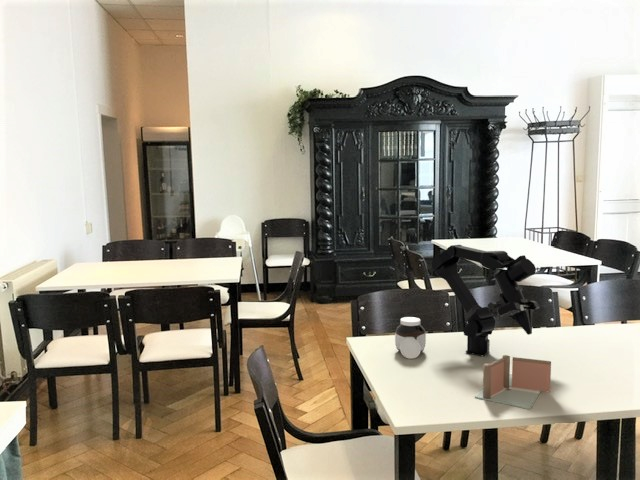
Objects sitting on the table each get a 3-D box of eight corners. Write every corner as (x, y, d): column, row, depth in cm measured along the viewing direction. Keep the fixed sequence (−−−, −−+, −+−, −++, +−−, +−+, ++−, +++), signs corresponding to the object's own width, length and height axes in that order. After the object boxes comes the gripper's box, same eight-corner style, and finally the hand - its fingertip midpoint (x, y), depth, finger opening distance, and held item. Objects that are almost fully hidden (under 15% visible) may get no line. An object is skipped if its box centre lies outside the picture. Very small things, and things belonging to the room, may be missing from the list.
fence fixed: (482, 398, 145) (482, 365, 144) (494, 383, 156) (495, 352, 155) (502, 403, 142) (503, 369, 141) (514, 387, 153) (515, 355, 152)
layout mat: (475, 397, 146) (475, 396, 146) (497, 372, 165) (497, 371, 165) (530, 409, 138) (530, 408, 138) (546, 381, 157) (547, 380, 157)
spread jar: (415, 346, 191) (415, 315, 190) (435, 356, 181) (435, 322, 180) (387, 352, 186) (387, 319, 185) (405, 361, 176) (406, 327, 175)
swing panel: (501, 387, 152) (502, 357, 151) (502, 384, 153) (502, 354, 152) (550, 393, 147) (551, 362, 146) (550, 390, 149) (551, 360, 148)
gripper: (500, 297, 182) (519, 340, 176) (474, 297, 168) (493, 345, 163) (529, 284, 175) (550, 329, 169) (504, 283, 162) (526, 332, 156)
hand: (529, 334), depth 165 cm, fingers closed
